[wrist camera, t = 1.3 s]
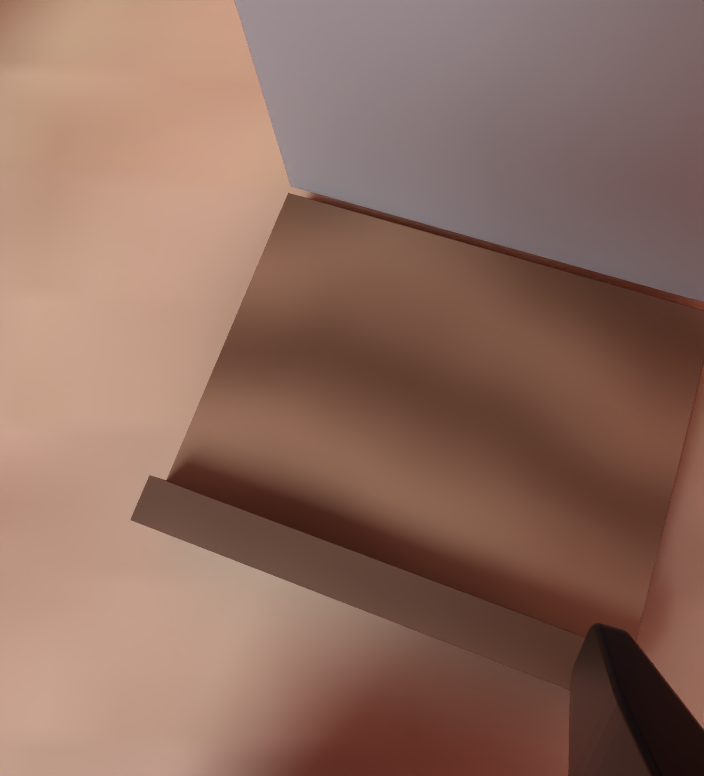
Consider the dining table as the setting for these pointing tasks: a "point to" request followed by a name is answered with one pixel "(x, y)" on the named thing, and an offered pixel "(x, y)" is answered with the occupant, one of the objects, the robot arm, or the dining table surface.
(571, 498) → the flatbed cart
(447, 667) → the dining table surface
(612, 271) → the tailgate
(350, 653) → the dining table surface
